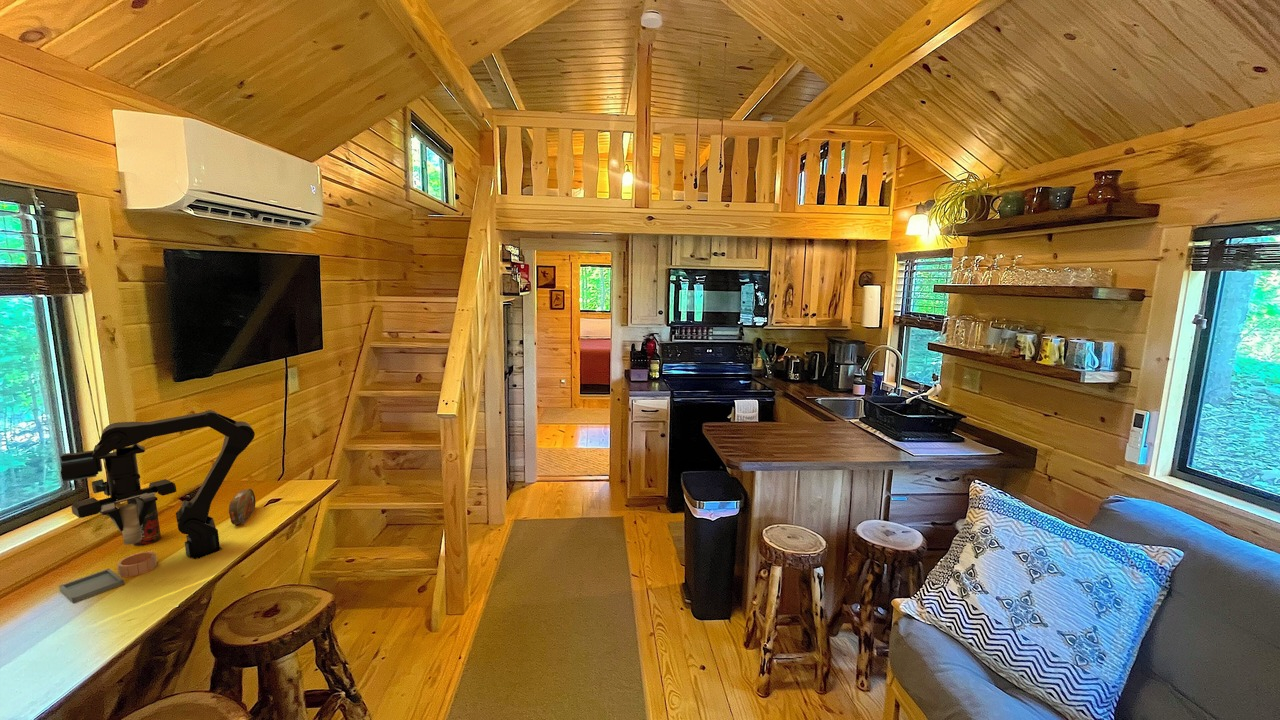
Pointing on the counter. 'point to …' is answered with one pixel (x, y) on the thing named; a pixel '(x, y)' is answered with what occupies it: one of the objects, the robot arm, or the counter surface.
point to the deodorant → (149, 525)
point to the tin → (242, 506)
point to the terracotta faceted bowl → (137, 564)
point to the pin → (130, 524)
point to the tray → (91, 585)
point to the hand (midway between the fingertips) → (130, 527)
